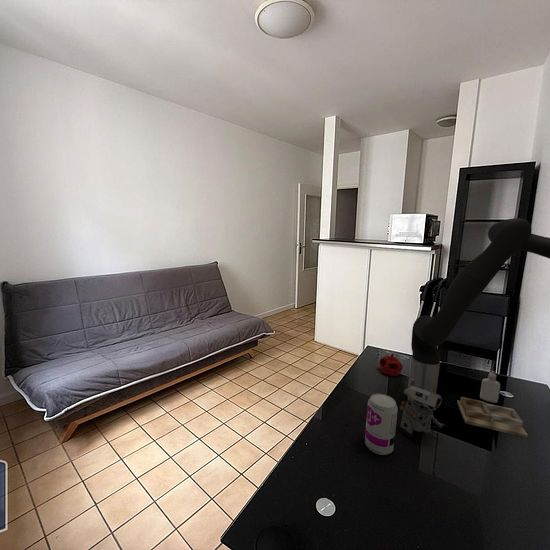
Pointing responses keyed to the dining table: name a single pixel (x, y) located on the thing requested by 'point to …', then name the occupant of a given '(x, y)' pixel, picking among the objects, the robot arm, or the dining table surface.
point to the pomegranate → (390, 365)
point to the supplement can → (381, 424)
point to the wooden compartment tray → (491, 416)
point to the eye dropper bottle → (490, 388)
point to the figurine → (419, 410)
